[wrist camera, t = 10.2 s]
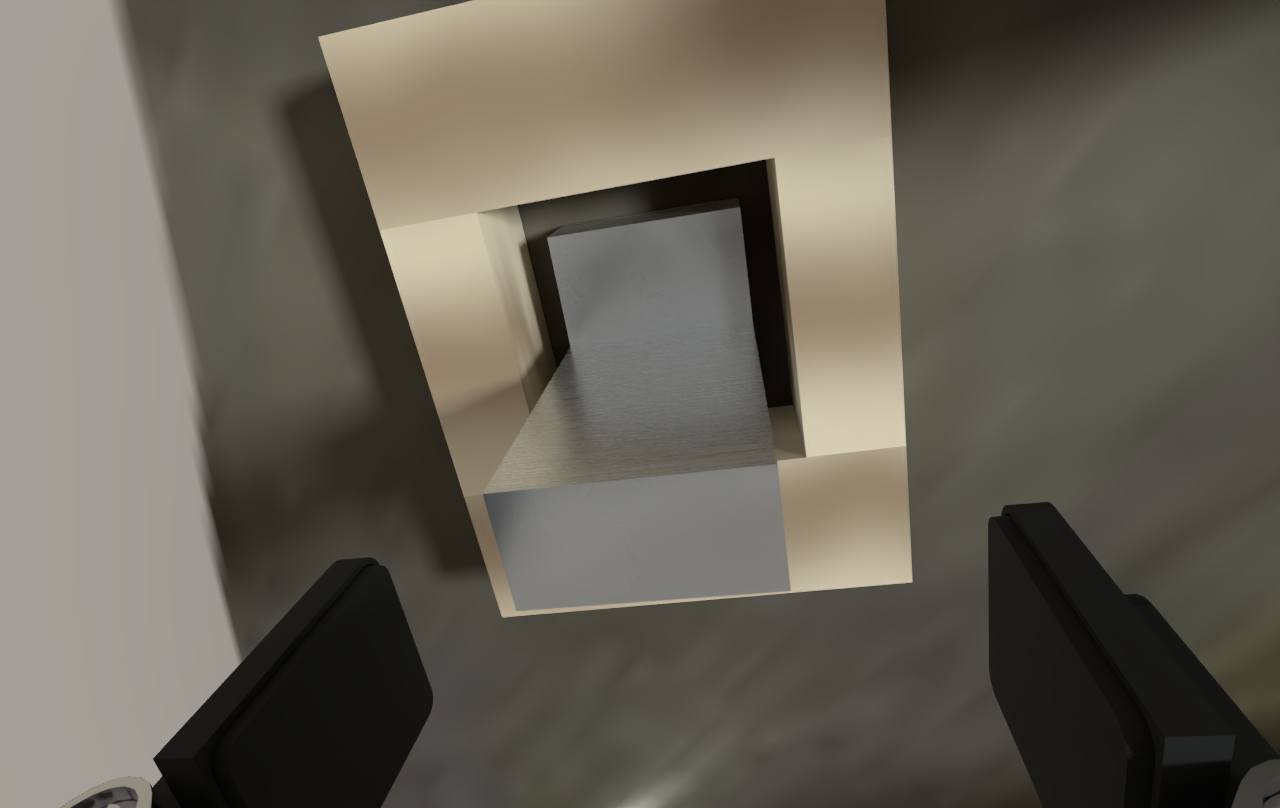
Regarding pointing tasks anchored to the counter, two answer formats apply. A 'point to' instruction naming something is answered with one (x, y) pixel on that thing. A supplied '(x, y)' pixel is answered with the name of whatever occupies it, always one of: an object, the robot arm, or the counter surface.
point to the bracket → (646, 425)
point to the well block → (632, 153)
